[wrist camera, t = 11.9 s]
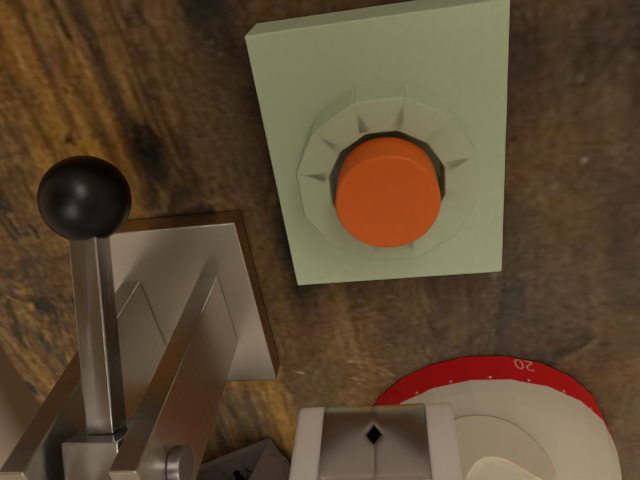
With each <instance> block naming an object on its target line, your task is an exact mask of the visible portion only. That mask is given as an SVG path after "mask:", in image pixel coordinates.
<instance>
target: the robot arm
mask: <svg viewBox="0 0 640 480" xmlns="http://www.w3.org/2000/svg"><path fill="white" fill-rule="evenodd" d="M424 408H425V409H424ZM289 480H472V479H463V474H462V467H461V461H460V454H459V447H458V441H457V434H456V428H455V421H454V414H453V408H452V405H451V403H426V404H425V405H424V403H416V404H396V405H376V406H374V407H313V408H301V409H300V411H299V414H298V418H297V425H296V432H295V439H294V446H293V452H292V459H291V466H290V473H289Z"/></svg>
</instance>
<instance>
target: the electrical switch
mask: <svg viewBox="0 0 640 480" xmlns="http://www.w3.org/2000/svg"><path fill="white" fill-rule="evenodd" d="M246 453H248V454H246ZM244 464H245V467H246V468H247V469H248V470H249V471H250V472H251V473H252V474H251V473H250V472H248V471H247V470H246V468H245V467H244ZM290 466H291V465H290V463H289V462H288V460H287V459H286V457H284V456H283V455H282V454H281V453H280V452H279V450H278V449H277V447H276V446H275V444H274V443H273V442H272V440H271V439H270V438H268V439H265V440H262V441H260V442H257V443H255V444H252V445H250V446H247V447H245V448H242V449H239V450H237V451H234V452H232V453H229V454H227V455H224V456H222V457H219V458H216V459H214V460H211V461H209V462H206V463H204V464H201V465H200V468H199V471H198V475H197V478H196V480H236V479H235V476H234V474H233V472H234V471H235V470H238V471H240V474H241V475H242V476H243V477H244V478H245V479H246V478H247V479H248V480H289V473H290ZM214 468H217V469H214ZM203 470H204V471H203ZM222 472H224V473H225V476H224V474H223V473H222Z"/></svg>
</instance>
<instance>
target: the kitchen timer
mask: <svg viewBox="0 0 640 480" xmlns="http://www.w3.org/2000/svg"><path fill="white" fill-rule="evenodd" d="M416 403H424V405H425V404H426V403H451V405H452V408H453V414H454V421H455V428H456V434H457V441H458V447H459V454H460V461H461V467H462V474H463V479H472V480H622V478H621V470H620V464H619V459H618V454H617V451H616V448H615V444H614V441H613V439H612V437H611V434H610V432H609V430H608V427H607V425H606V423H605V420H604V418H603V416H602V414H601V412H600V410H599V408H598V406H597V404H596V402H595V400H594V398H593V396H592V395H591V394H590V393H589V392H588V391H587V390H586V389H584V388H583V387H582V386H581V385H580V384H579V383H578V382H577V381H575V380H574V379H573V378H572V377H571V376H569V375H567V374H564V373H562V372H560V371H558V370H555V369H553V368H551V367H549V366H547V365H544V364H542V363H539V362H534V361H529V360H523V359H518V358H513V357H507V356H477V357H463V358H458V359H454V360H450V361H445V362H441V363H437V364H432V365H429V366H427V367H425V368H423V369H421V370H419V371H416V372H414V373H412V374H410V375H408V376H406V377H404V378H402V379H400V380H399V381H398V382H396V383H395V384H394V385H393V386H392V387H391V388H390V389H388V390H387V391H386V392H385V393H384V394H383V395H381V396H380V397H379V398H378V400H377V402H376V403H375V405H374V406H376V405H396V404H416ZM424 409H425V408H424Z"/></svg>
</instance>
